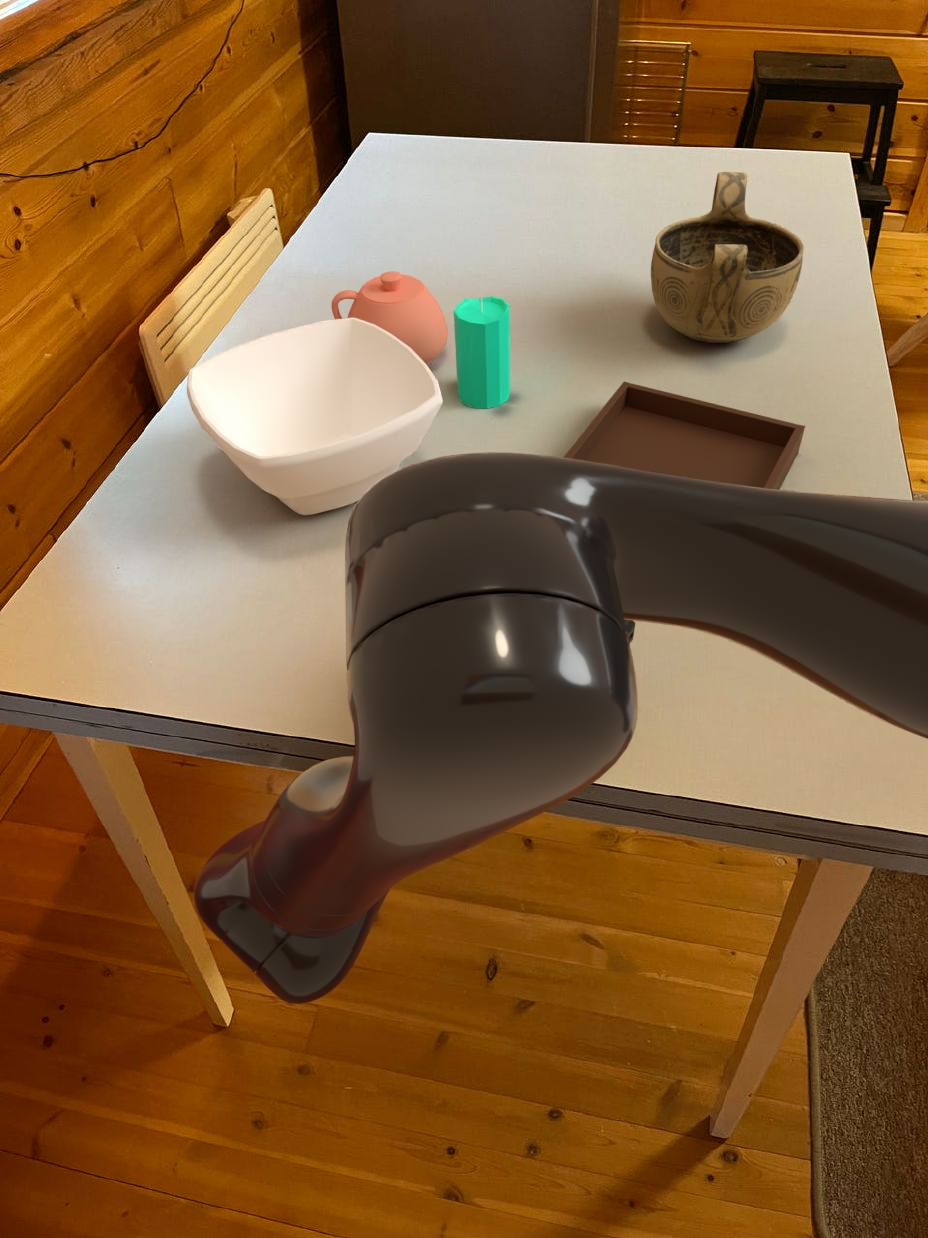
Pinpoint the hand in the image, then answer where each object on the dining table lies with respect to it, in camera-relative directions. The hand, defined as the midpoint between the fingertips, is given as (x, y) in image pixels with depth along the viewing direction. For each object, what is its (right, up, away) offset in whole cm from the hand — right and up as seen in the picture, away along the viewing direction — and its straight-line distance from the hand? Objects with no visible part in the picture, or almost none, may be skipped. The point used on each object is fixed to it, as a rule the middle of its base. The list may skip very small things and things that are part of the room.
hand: (581, 596), depth 72 cm
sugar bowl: (-18, +30, +40) cm, 54 cm away
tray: (+13, +13, +22) cm, 28 cm away
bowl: (-23, +12, +23) cm, 35 cm away
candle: (-7, +24, +34) cm, 42 cm away
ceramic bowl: (+22, +34, +42) cm, 58 cm away
